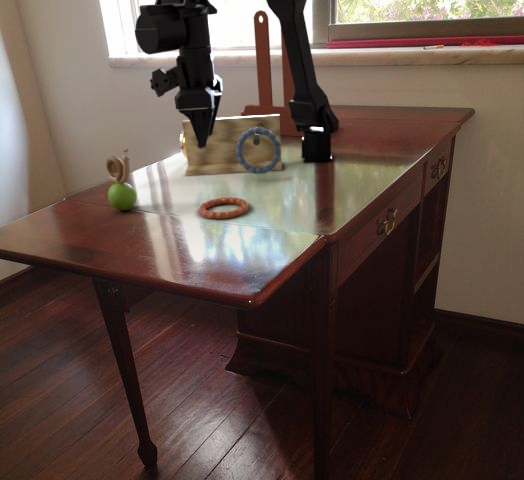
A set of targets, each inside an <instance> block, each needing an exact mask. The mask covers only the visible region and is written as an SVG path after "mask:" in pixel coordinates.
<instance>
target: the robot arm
mask: <svg viewBox="0 0 524 480" xmlns="http://www.w3.org/2000/svg"><path fill="white" fill-rule="evenodd" d="M265 2H266V3H267V6H268V8H269V10H270V11H271V12H272V13H273V14H274V15H275V17H276V18H277V19H278V21H279V25H280V31H281V30H282V34H283V39H284V43H285V47H286V52H287V56H288V61H289V65H290V70H291V74H292V78H293V83H294V87H295V92H294V95H293V98H292V100H291V101H289V108H290V111H291V119H294V122H295V126H296V129H297V132H304V137H303V136H301V138H300V140H301V141H300V143H301V146H300V147H301V158H302V159H303V162H304V163H313V162H314V163H316V162H317V163H318V162H332V160H333V157H332V135H333V134H336V132H338V130H339V125H340V120H339V119H338V117H337V115H336V114H335V113H334V111H333V110H332V109H331V104H330V101H329V98H328V94H326V92H325V91H324V89H323V88H322V87H321V86H320V85H319V83H318V81H317V75H316V70H315V64H314V60H313V54H312V50H311V44H310V39H309V34H308V28H307V25H306V20H305V19H306V18H305V11H304V10H305V9H306V8H305V7H306V4H307V0H266V1H265ZM139 13H140V14H139V16H138V17H137V19H136V21H135V29H134V37H135V40H136V43H137V45H138V47H139V49H140V50H141V51H142V52H143V53H144V54H147V55H155V54H156V55H157V54H162V53H168V52H173V51H178V55H177V56H176V58H175V62H176V65H174V66H172V67H170V68H169V69H166V70H165V69H163V68H162V67H159V68H157V69H155V70H153V71H152V72H151V78H150V79H149V82H150V89H151V90H152V91H154V92H155V94H156V96H157V98H161V97H163V96H164V95H165V94H166V93H168V92H170V91H172V90H174V89H175V88H179V90H178V91H177V93H176V94H175V95H174V105H175V109H176V110H177V111H178V112H179V114H182V115H184V116H185V117H186V118H187V119H188V120H190V122H191V125H192V127H193V130H194V133H195V135H196V138H197V141H198V144H199V146H200V147H206V144H207V139H208V136H211V135H212V132H213V128H214V124H215V120H216V118H217V115H218V111H219V108H220V105H221V104H220V103H221V100H222V97H223V96H222V95H223V93H222V92H223V90H224V87H223V79H222V78H221V77H220V76H219V75H218V74H215V66H214V58H215V51H214V50H213V48H212V39H211V38H212V37H211V28H210V17H209V15H211V16H212V15H216V14H218V9H217V8H216V7H215V5H213V4H212V3H211V2H210V1H209V0H155V2H154V4H144V5H143V4H142V5H140V6H139ZM215 91H217V92H215Z"/></svg>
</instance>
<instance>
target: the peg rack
mask: <svg viewBox="0 0 524 480" xmlns="http://www.w3.org/2000/svg"><path fill="white" fill-rule="evenodd" d="M181 123H182V130H183V132H184V139H185V146H186V153H187V158H186V160H187V167H186V169H185V175H186V176H202V175H203V176H204V175H221V174H238V173H250V172H249V171H247V170H246V169H245V168H244V167H242V166H241V164H240V162H239V160H238V158H237V153H236V146H237V143H238V140H239V138H240V137H241V136H242V134H243V133H244V132H246V131H248V130H250V129H251V128H264V129H267V130H270V131H271V132H272V133H273V134H274V135H275V136H276V137H277V139H278V141H279V143H280V148H281V149H282V139H281V138H282V137H281V136H282V135H280V115H279V114H273V115H257V116H242V117H241V116H227V117H216V120H215V124H214V128H213V132H212V135H211V136H208V139H207V144H206V147H200V146H199V144H198V141H197V138H196V135H195V133H194V130H193V127H192V125H191V122H190V120H189V119H183V120H182V121H181ZM274 155H275V146H274V144H273V142H272V140H271V139H270V138H268V137H267V136H265V135H263V134H253V135H251V136H249V137H248V138H247V139H246V140H245V141H244V143H243V146H242V156H243V158H244V160H245V162H247V163H248V164H249V165H250V166H252V167H255V168H263V167H265V166H267V165H269V164H270V163H271V162H272V160H273V158H274ZM282 166H283V159H282V154H281V155H280V158H279V161H278V163H277V164H276V166H275V167H274V168H273V169H272V170H270V171H269V172H271V171H272V172H273V171H282V170H283V169H282V168H283V167H282Z"/></svg>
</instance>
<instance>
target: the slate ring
mask: <svg viewBox="0 0 524 480" xmlns="http://www.w3.org/2000/svg"><path fill="white" fill-rule="evenodd" d="M253 134H263V135H265V136H267V137H268V138H270V139H271V140H272V142H273V144H274V146H275V155H274V158H273V160H272V162H271V163H270V164H269V165H267V166H265V167H263V168H255V167H252V166H250V165H249V164H248V163H247V162H245V160H244V158H243V156H242V146H243V143H244V141H245V140H246V139H247V138H248V137H249V136H251V135H253ZM236 153H237V158H238V160H239V162H240V164H241V166H242V167H244V168H245V169H246V170H247V171H249V172H248V173H251V174H255V175H260V174H266V173H268V172H271V171H270V170H272V169H273V168H274V167H275V166H276V164H277V163H278V161H279V158H280V155H281V156H282V147H281V148H280V143H279V141H278V139H277V137H276V136H275V135H274V134H273V133H272V132H271V131H270V130H267V129H264V128H251V129H250V130H248V131H246V132H244V133H243V134H242V136H241V137H240V138H239V140H238V143H237V146H236Z"/></svg>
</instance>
